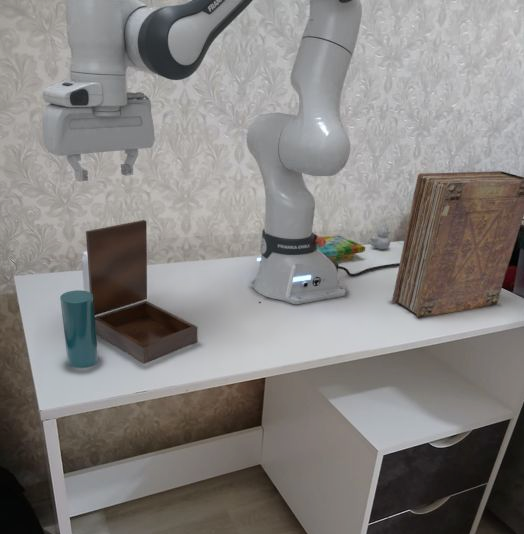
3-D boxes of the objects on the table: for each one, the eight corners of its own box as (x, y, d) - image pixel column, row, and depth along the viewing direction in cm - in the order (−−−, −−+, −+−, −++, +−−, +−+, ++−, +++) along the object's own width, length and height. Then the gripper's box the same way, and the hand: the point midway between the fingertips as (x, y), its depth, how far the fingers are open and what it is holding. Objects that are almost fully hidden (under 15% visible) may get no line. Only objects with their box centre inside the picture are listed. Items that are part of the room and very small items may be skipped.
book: (416, 318, 125) (447, 183, 110) (391, 302, 132) (417, 173, 118) (497, 304, 135) (534, 179, 121) (469, 290, 142) (502, 170, 128)
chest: (197, 345, 107) (197, 326, 105) (144, 367, 98) (143, 347, 96) (146, 318, 115) (146, 300, 113) (94, 336, 107) (92, 317, 105)
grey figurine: (393, 251, 167) (398, 225, 163) (374, 252, 165) (378, 225, 161) (383, 245, 171) (388, 219, 167) (365, 246, 169) (369, 220, 165)
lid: (146, 220, 105) (130, 213, 107) (88, 232, 96) (72, 224, 99) (147, 299, 113) (132, 290, 116) (93, 316, 104) (78, 306, 107)
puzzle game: (284, 238, 154) (339, 232, 164) (282, 254, 156) (337, 247, 166) (308, 251, 146) (366, 243, 155) (306, 268, 148) (363, 259, 158)
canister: (97, 355, 100) (92, 289, 94) (100, 370, 96) (94, 301, 90) (67, 358, 99) (59, 291, 93) (68, 373, 95) (60, 303, 88)
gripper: (139, 90, 101) (141, 168, 107) (32, 90, 87) (43, 180, 93) (161, 94, 97) (162, 174, 104) (54, 94, 83) (63, 187, 90)
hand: (105, 177), depth 98 cm, fingers open, 8 cm apart
